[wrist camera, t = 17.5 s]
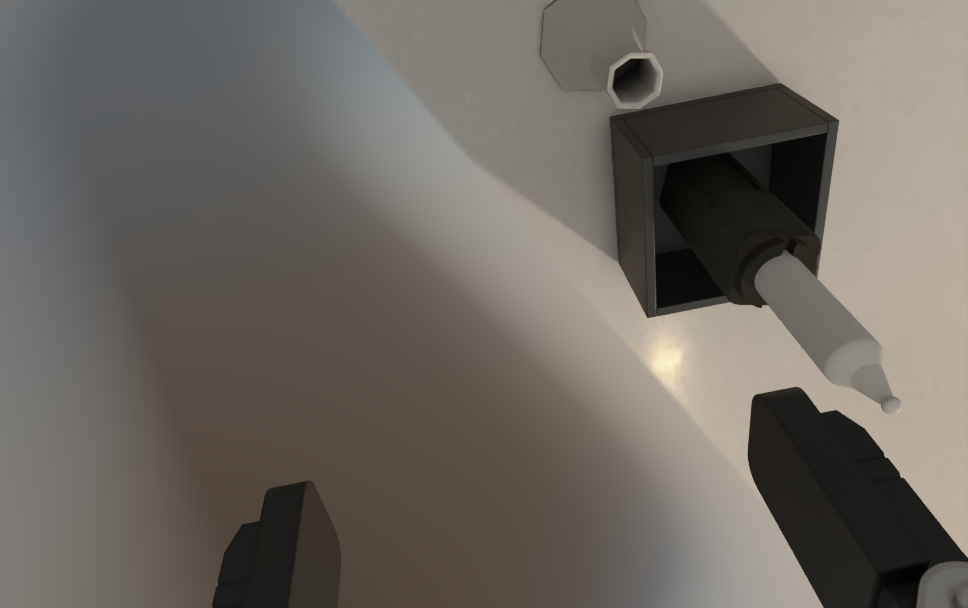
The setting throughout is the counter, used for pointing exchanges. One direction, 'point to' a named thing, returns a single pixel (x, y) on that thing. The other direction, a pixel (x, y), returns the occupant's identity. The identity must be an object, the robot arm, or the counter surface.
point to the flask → (601, 50)
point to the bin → (699, 133)
